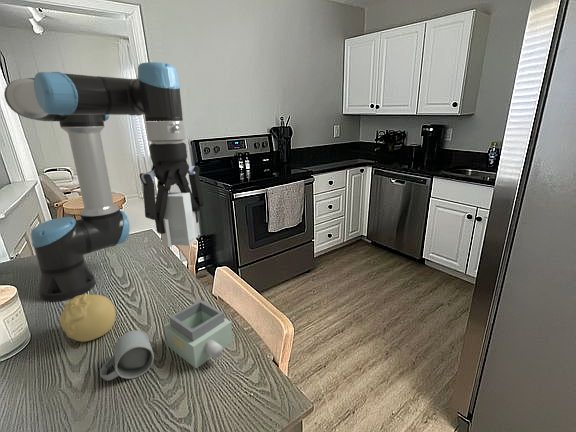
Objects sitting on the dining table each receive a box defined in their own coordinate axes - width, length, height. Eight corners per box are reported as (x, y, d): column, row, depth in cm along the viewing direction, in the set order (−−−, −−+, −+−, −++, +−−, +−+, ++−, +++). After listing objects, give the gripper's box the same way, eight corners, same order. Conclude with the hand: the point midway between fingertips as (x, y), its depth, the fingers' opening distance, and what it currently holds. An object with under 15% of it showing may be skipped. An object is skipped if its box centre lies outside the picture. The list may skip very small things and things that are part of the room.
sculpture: (65, 329, 83) (56, 294, 79) (115, 313, 89) (109, 281, 85) (64, 355, 73) (53, 317, 70) (120, 336, 80) (112, 300, 76)
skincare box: (196, 240, 76) (191, 191, 72) (189, 246, 71) (183, 195, 68) (172, 239, 76) (166, 191, 73) (163, 246, 72) (157, 195, 68)
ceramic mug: (150, 347, 76) (144, 321, 73) (156, 369, 69) (151, 341, 67) (100, 366, 70) (93, 339, 68) (102, 392, 64) (94, 363, 61)
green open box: (166, 345, 76) (161, 316, 74) (203, 323, 84) (200, 296, 82) (203, 375, 67) (199, 344, 65) (241, 347, 76) (239, 317, 73)
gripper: (131, 146, 57) (150, 258, 64) (214, 139, 72) (222, 232, 79) (113, 144, 62) (132, 250, 68) (194, 139, 76) (204, 226, 83)
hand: (180, 240), depth 74 cm, fingers closed on skincare box, 6 cm apart
